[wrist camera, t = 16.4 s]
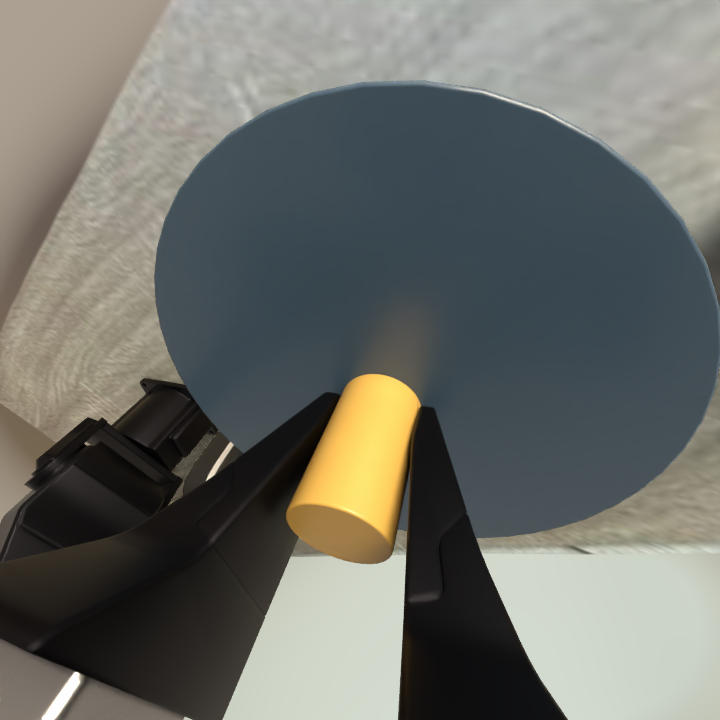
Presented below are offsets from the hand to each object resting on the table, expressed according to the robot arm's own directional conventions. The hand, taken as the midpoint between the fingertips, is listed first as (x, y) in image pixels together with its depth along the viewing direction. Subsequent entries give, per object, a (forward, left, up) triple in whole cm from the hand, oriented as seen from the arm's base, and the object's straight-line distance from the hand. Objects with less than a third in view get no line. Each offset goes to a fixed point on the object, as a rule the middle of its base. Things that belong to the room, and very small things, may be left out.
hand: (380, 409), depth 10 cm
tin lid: (0, 0, -1) cm, 1 cm away
